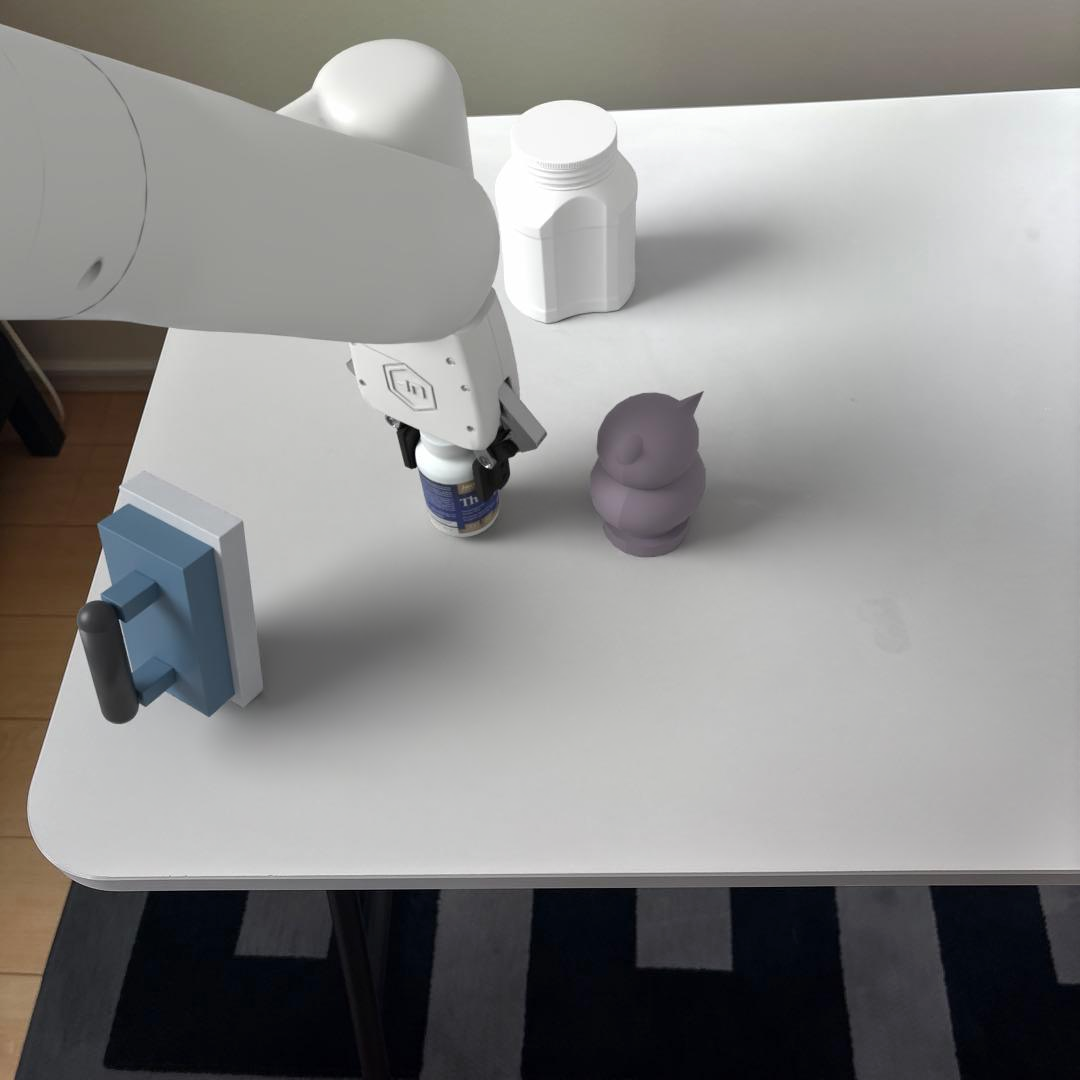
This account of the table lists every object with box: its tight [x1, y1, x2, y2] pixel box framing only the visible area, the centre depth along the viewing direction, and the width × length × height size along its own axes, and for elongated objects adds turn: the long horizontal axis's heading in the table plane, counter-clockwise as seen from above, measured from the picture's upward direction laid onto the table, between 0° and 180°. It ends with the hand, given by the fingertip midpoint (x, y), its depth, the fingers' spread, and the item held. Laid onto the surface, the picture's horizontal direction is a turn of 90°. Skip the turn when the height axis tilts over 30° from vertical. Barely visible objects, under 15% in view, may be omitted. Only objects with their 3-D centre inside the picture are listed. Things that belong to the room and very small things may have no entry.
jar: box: [494, 99, 639, 324], centre depth 88 cm, size 12×10×15 cm
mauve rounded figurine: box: [588, 390, 707, 558], centre depth 74 cm, size 8×8×12 cm
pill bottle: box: [415, 430, 501, 538], centre depth 75 cm, size 5×5×10 cm
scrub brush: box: [76, 470, 264, 725], centre depth 65 cm, size 15×8×9 cm
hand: (456, 469), depth 75 cm, fingers closed on pill bottle, 5 cm apart
